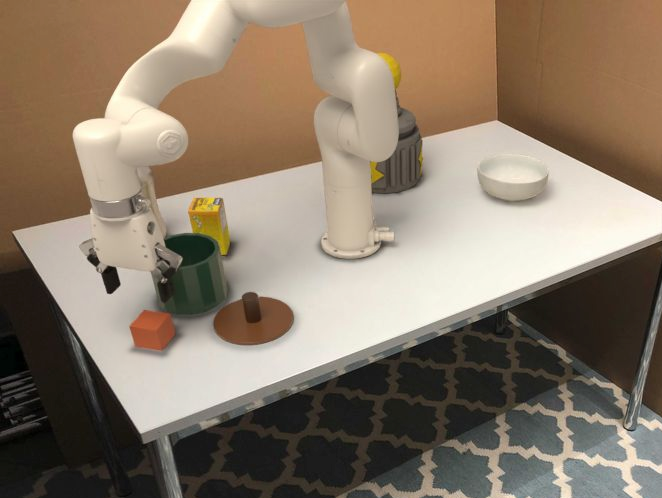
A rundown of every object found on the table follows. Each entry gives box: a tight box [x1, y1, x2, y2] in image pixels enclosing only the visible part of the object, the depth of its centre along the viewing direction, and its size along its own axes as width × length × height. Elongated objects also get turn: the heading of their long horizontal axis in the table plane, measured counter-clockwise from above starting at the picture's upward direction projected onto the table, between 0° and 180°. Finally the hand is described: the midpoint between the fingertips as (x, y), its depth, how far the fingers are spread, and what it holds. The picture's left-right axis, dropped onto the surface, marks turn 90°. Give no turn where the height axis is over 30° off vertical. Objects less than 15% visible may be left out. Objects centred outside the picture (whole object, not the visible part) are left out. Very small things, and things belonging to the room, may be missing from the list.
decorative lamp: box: [370, 52, 424, 194], centre depth 180 cm, size 19×19×30 cm
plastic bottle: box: [137, 166, 167, 238], centre depth 156 cm, size 6×7×20 cm
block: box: [129, 309, 176, 352], centre depth 134 cm, size 5×5×5 cm
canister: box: [150, 232, 229, 316], centre depth 143 cm, size 13×13×10 cm
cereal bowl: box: [476, 153, 550, 203], centre depth 183 cm, size 17×17×7 cm
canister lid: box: [212, 291, 294, 346], centre depth 139 cm, size 14×14×6 cm
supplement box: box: [187, 196, 232, 258], centre depth 156 cm, size 6×6×11 cm
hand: (141, 294), depth 128 cm, fingers open, 9 cm apart
